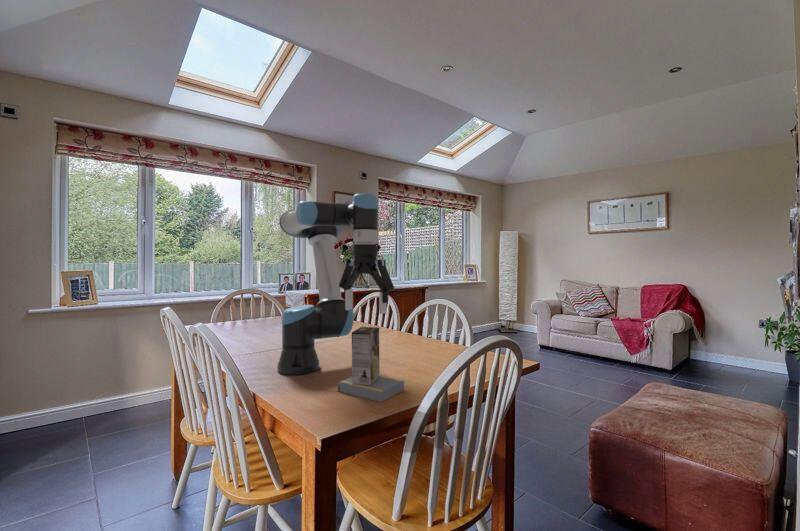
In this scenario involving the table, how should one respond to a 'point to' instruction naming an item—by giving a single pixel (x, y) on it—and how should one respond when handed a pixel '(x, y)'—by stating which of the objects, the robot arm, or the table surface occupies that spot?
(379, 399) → the dock
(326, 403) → the table surface
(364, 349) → the coffee box
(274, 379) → the table surface
